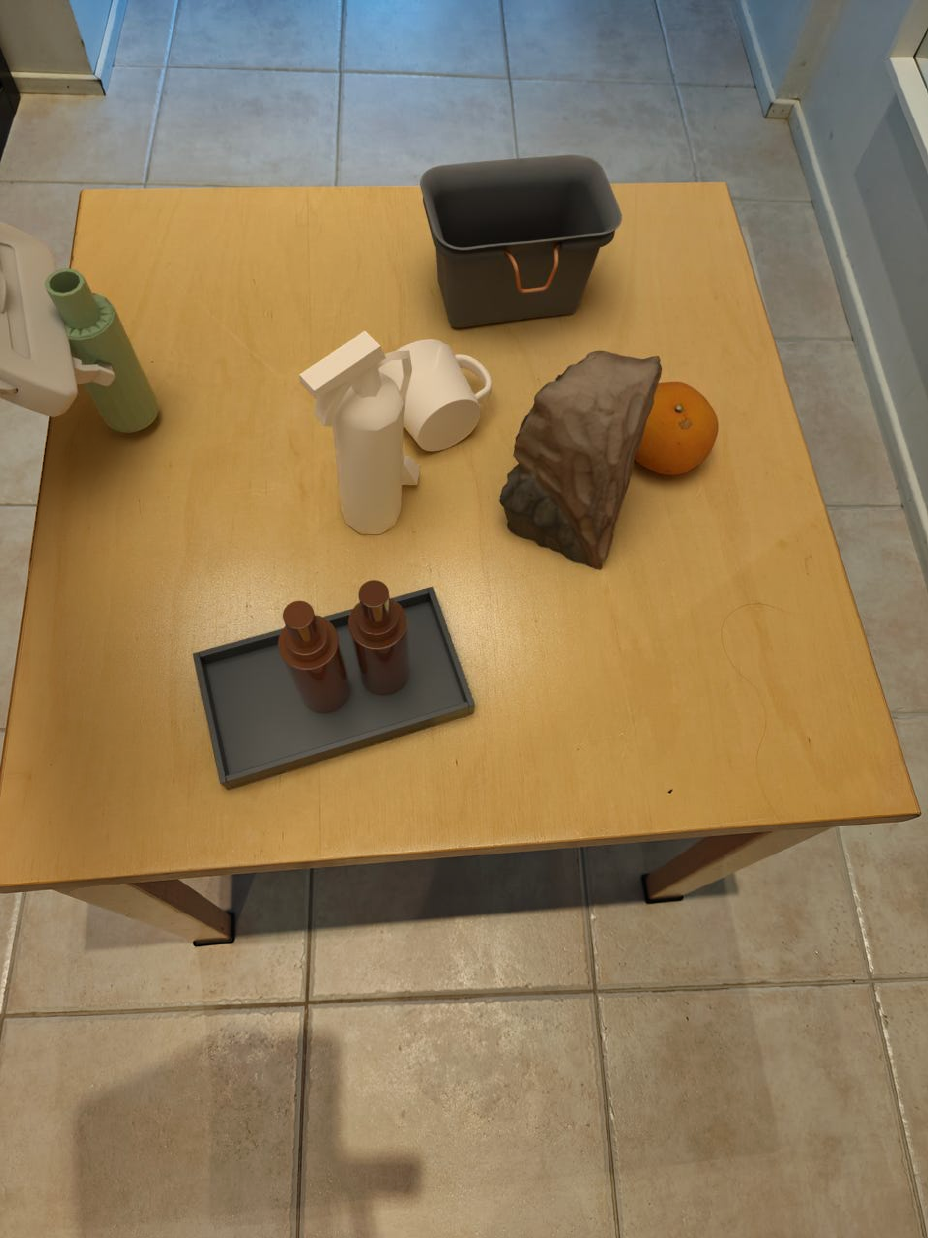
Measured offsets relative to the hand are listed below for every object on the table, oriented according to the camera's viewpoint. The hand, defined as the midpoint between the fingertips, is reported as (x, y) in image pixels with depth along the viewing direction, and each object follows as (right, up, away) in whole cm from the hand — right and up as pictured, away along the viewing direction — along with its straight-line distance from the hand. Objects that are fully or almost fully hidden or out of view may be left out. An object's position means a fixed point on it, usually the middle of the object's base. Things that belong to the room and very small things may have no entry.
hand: (106, 348), depth 79 cm
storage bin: (+42, +12, +20) cm, 48 cm away
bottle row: (+26, -33, -2) cm, 42 cm away
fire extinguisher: (+27, -15, +7) cm, 32 cm away
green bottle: (-1, -4, +8) cm, 9 cm away
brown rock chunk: (+48, -17, +7) cm, 51 cm away
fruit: (+59, -8, +12) cm, 61 cm away
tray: (+24, -34, -2) cm, 42 cm away
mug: (+33, -4, +13) cm, 36 cm away
